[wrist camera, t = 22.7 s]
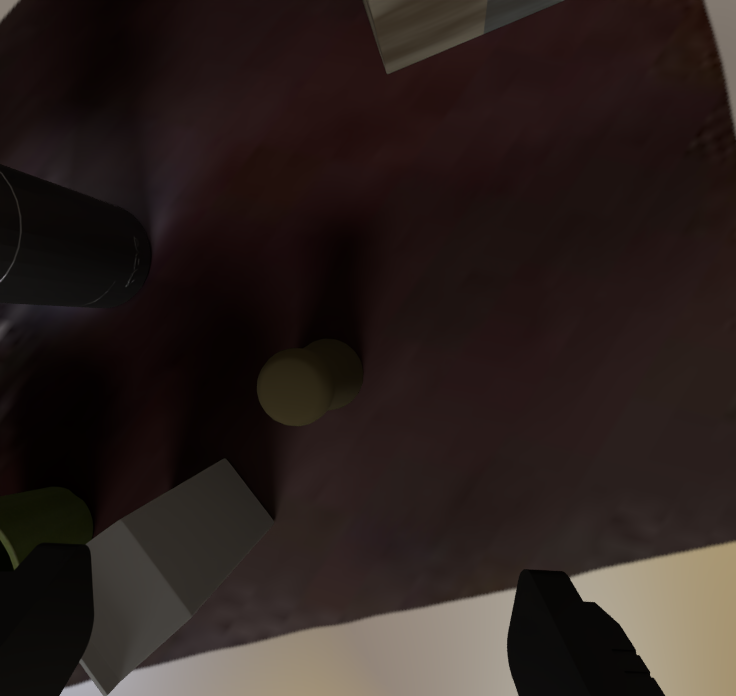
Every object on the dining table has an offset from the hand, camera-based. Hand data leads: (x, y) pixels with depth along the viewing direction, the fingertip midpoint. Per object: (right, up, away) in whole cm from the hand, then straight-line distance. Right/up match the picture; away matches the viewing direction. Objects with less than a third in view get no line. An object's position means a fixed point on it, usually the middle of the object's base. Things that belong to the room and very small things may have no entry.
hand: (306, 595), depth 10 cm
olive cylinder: (-2, +2, +35) cm, 35 cm away
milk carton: (-12, -10, +37) cm, 40 cm away
